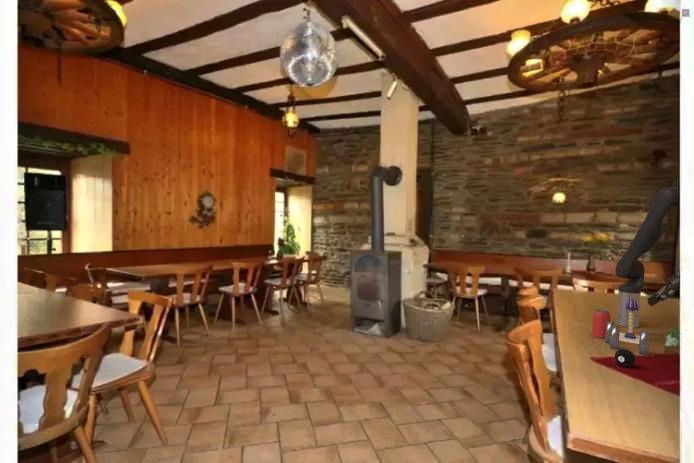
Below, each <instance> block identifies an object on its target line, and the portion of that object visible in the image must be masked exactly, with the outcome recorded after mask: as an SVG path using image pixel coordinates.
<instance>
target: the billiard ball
mask: <svg viewBox="0 0 694 463" xmlns="http://www.w3.org/2000/svg"><path fill="white" fill-rule="evenodd" d="M614 359H615V362H616V363H617V364H618V365H620V366H621V365H622V367H625V366H627V367H628V368H629V367H633V365H635V363H636V354H635V353H634V352H633V351H631V350H629V349H626V348H620V349H618V350H615V353H614ZM627 367H626V368H627Z"/></svg>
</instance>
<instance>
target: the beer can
mask: <svg viewBox="0 0 694 463" xmlns="http://www.w3.org/2000/svg"><path fill="white" fill-rule="evenodd" d="M606 321H611V313H610V311H609V310H606V309H599V308H598V309H597V308H595V309H594V312H593V315H592V326H591V327H592V328H591V336H593V337H594V338H597V339H601V340H605V334H606Z"/></svg>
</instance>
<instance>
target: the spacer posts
mask: <svg viewBox="0 0 694 463" xmlns="http://www.w3.org/2000/svg"><path fill="white" fill-rule="evenodd" d="M620 327H621V326H619V325H616V324H615V321H612V320H610V321H606V334H605V339H604V343H606V344H609V349H611V350H614V351H618V350H619V348H620V347H619V346H620V341H619V333H621V332H620V331H621V328H620ZM639 336H640V338H639V344H638V354H639V355H643V356H649V347H650V331H649V330H645V329H644V330H642V329H640V330H639Z"/></svg>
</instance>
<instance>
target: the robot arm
mask: <svg viewBox="0 0 694 463" xmlns="http://www.w3.org/2000/svg"><path fill="white" fill-rule="evenodd" d="M678 187H679V186H669V187H663V188H660V189H659V190H658V191H657V193H655V196H654V198H653V201H652V203H651V205H650V208H649V210H648V212H647V214H646V216H645V218H644V220H643V222H642V224H641V226H640V227H639V228H638V231H637V232H636V234H635V236H634V238H633V239H632V241H631V243H630V244H629V246H628V248H627V249H626V250H625V252H624V253H623V255H622V256H621V258H620V259H619V260H618V262H616V263H617V264H616V265H615V268H614V270H615V274H616V276H617V277H618V278H619V279H628V280H627V281H626V282H623V283H622V284H619V286H618V293H617V310H616V311H617V312H616V325H617V326H620V327H621V326H622V327H626V328H628V327H629V325H628V324H629V309H626V308H625V307H626V304H627V301H628V300H636V302H637V305H638V310H634V316H633V317H634V319H633V329H634V328H635V329H636V328H639V326H640V310H641V295H642V294H641V293H642V290H643V288H644V287H643V286H644V281H645V280H644V279H645V273H646V272H645V271H646V270H645V266H644V263H642V262H641V261H640V260H638V259H639V258H640V257H642V256H643V255H645V254H647V253H648V252H649V251H651V250H652V249H654V248H655V247H656V246H657V245H658V244H659V242H660V240H661V239H662V237H663V235H664V218H665V216H666V215H667V213H668V212H669V210H670V209H671V208H673V209H674V208H677V209H679V208H678ZM679 272H680V271H679ZM679 272H677V273H675V274H673V275H671V276H670V277H669V278H667V282H668V283H669V284H666V285H665V286H663V287H661V288H660V289H658V290H657V291H655V292H654V294H653V295H652V296H649V297H648V298H647V299H646V300H647V305H649V306H650V307H654V306H655V305H657V304H658V303H660V302H661V303H662V302H664V301H665V300H667V299H668V298H670V297H672V296H674V295H675V294H676V291H678V292H679Z"/></svg>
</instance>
